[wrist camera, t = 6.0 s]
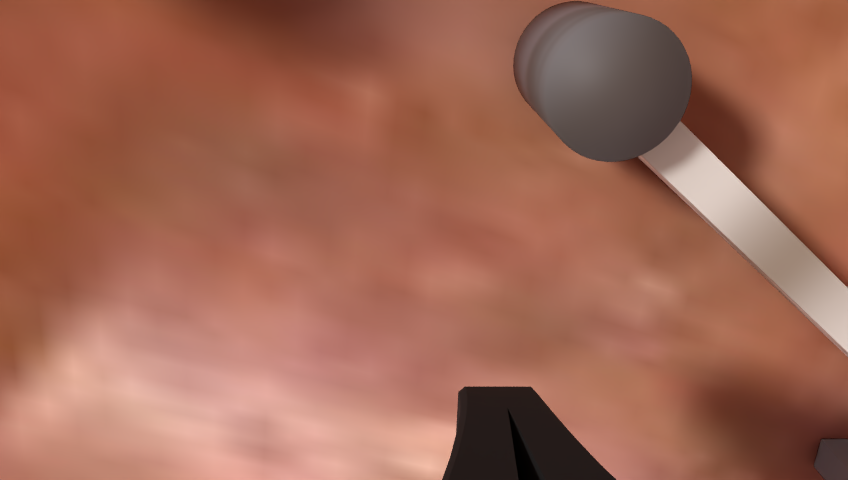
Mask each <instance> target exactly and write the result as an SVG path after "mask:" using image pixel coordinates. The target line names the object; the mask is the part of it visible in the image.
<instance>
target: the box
mask: <svg viewBox="0 0 848 480" xmlns="http://www.w3.org/2000/svg"><path fill="white" fill-rule="evenodd" d="M814 467H815V469H816V470H817V471H818V472H819V473H820V475H821V476H822V477H823V478H824V479H825V480H848V439H821V442H820V446H819V449H818V453H817V456H816V460H815V463H814Z"/></svg>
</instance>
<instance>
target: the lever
mask: <svg viewBox="0 0 848 480" xmlns="http://www.w3.org/2000/svg"><path fill="white" fill-rule="evenodd" d="M513 68H514V76H515V81H516V84H517V87H518V89H519V91H520V93H521V95H522V96H523V98H524V99H525V101H526V102H527V103H528V104H529V105H530V106H531V107H532V108H533V110H534V111H535V112H536V113H537V114H538V115H539V116H540V117H541V118H542V119H543V120H544V122H545V123H546V124H547V125H548V126H549V127H550V128H551V129H552V130H553V131H554V132H555V134H556V135H557V136H558V137H559V138H560V139H561V140H562V141H563V142H564V143H565V144H566V145H567V146H568V147H569V148H571V149H572V150H573V151H575V152H576V153H578V154H580V155H582V156H584V157H587V158H589V159H593V160H597V161H605V162H617V161H624V160H628V159H632V158H635V157H638V158H639V159H640V160H641V161H642V162H644V163H645V164H646V165H647V166H648V167H649V168H650V169H651V170H652V171H653V172H654V173H655V174H656V175H657V176H658V177H659V178H660V179H661V180H662V181H663V182H665V183H666V184H667V185H668V186H669V187H670V188H671V189H672V190H673V191H674V192H675V193H676V194H677V195H678V196H679V197H680V198H681V199H682V200H683V201H684V202H686V203H687V204H688V205H689V206H690V207H691V208H692V209H693V210H694V211H695V212H696V213H697V214H698V215H699V216H700V217H701V218H702V219H703V220H704V221H706V222H707V223H708V224H709V225H710V226H711V227H712V228H713V229H714V230H715V231H716V232H717V233H718V234H719V235H720V236H721V237H722V238H723V239H724V240H725V241H727V242H728V243H729V244H730V245H731V246H732V247H733V248H734V249H735V250H736V251H737V252H738V253H739V254H740V255H741V256H742V257H743V258H744V259H745V260H746V261H748V262H749V263H750V264H751V265H752V266H753V267H754V268H755V269H756V270H757V271H758V272H759V273H760V274H761V275H762V276H763V277H764V278H765V279H766V280H768V281H769V282H770V283H771V284H772V285H773V286H774V287H775V288H776V289H777V290H778V291H779V292H780V293H781V294H782V295H783V296H784V297H785V298H786V299H787V300H789V301H790V302H791V303H792V304H793V305H794V306H795V307H796V308H797V309H798V310H799V311H800V312H801V313H802V314H803V315H804V316H805V317H806V318H807V319H808V320H810V321H811V322H812V323H813V324H814V325H815V326H816V327H817V328H818V329H819V330H820V331H821V332H822V333H823V334H824V335H825V336H826V337H827V338H828V339H830V340H831V341H832V342H833V343H834V344H835V345H836V346H837V347H838V348H839V349H840V350H841V351H842V352H843V353H844V354H845V355H846V356H847V357H848V288H847V287H846V286H845V285H844V284H843V283H842V282H841V281H840V280H839V279H838V278H837V277H836V276H835V275H834V274H833V273H832V272H831V271H830V270H829V269H828V268H827V267H826V266H825V265H824V264H823V263H822V262H821V261H820V260H819V259H818V258H817V257H816V256H815V255H814V254H813V253H812V252H811V251H810V250H809V249H808V248H807V247H806V246H805V245H804V244H803V243H802V242H801V241H800V240H799V239H798V238H797V237H796V236H795V235H794V234H793V233H792V232H791V231H790V230H789V229H788V228H787V227H786V226H785V225H784V224H783V223H782V222H781V221H780V220H779V219H778V218H777V217H776V216H775V215H774V214H773V213H772V212H771V211H770V210H769V209H768V208H767V207H766V206H765V205H764V204H763V203H762V202H761V201H760V200H759V199H758V198H757V197H756V196H755V195H754V194H753V193H752V192H751V191H750V190H749V189H748V188H747V187H746V186H745V185H744V184H743V183H742V182H741V181H740V180H739V179H738V178H737V177H736V176H735V175H734V174H733V173H732V172H731V171H730V170H729V169H728V168H727V167H726V166H725V165H724V164H723V163H722V162H721V161H720V160H719V159H718V158H717V157H716V156H715V155H714V154H713V153H712V152H711V151H710V150H709V149H708V148H707V147H706V146H705V145H704V144H703V143H702V142H701V141H700V140H699V139H698V138H697V137H696V136H695V135H694V134H693V133H692V132H691V131H690V130H689V129H688V128H687V127H686V126H685V125H684V124H683V123H682V122H681V121H680V120H681V118H682V116H683V114H684V112H685V110H686V107H687V105H688V102H689V98H690V94H691V87H692V73H691V65H690V61H689V57H688V55H687V52H686V50H685V48H684V46H683V44H682V43H681V41H680V40H679V38H678V37H677V36H676V35H675V34H674V32H672V31H671V30H670V29H669V28H668V27H667V26H665V25H664V24H662V23H661V22H659V21H657V20H655V19H653V18H651V17H647V16H644V15H640V14H636V13H632V12H627V11H623V10H619V9H614V8H610V7H606V6H601V5H597V4H593V3H588V2H582V1H570V2H564V3H560V4H557V5H554V6H552V7H550V8H548V9H546V10H544V11H543V12H541V13H540V14H539V15H538V16H536V17H535V18H534V19H533V20H532V21H531V22H530V23H529V25H528V26H527V27H526V28H525V30H524V31H523V33H522V35H521V37H520V39H519V41H518V43H517V47H516V50H515V55H514V65H513Z"/></svg>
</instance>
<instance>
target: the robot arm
mask: <svg viewBox="0 0 848 480" xmlns="http://www.w3.org/2000/svg"><path fill="white" fill-rule="evenodd" d="M442 480H616V479H615V478H614V477H613V476H612V475H611V474H610V473H609V472H608V471H606V470H605V469H604V468H603V467H602V466H601V465H600V464H599V463H598V462H597V461H596V459H595V458H594V457H593V456H592V455H591V454H590V453H589V452H588V451H587V450H586V449H585V448H584V447H583V446H582V445H581V444H580V443H579V441H578V440H577V439H576V438H575V437H574V436H573V435H572V434H571V433H570V432H569V430H568V429H567V428H566V427H565V426H564V425H563V424H562V422H561V421H560V420H559V419H558V418H557V417H556V415H555V414H554V413H553V412H552V411H551V410H550V408H549V407H548V406H547V405H546V404H545V402H544V401H543V400H542V399H541V398H540V396H539V395H538V394H537V393H536V392H535V391H534V390H533V389H532V388H531V387H464V388H463V389H462V390H460V391H459V392H458V411H457V429H456V437H455V441H454V445H453V449H452V453H451V456H450V459H449V462H448V465H447V468H446V471H445V473H444V476H443V479H442Z"/></svg>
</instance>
